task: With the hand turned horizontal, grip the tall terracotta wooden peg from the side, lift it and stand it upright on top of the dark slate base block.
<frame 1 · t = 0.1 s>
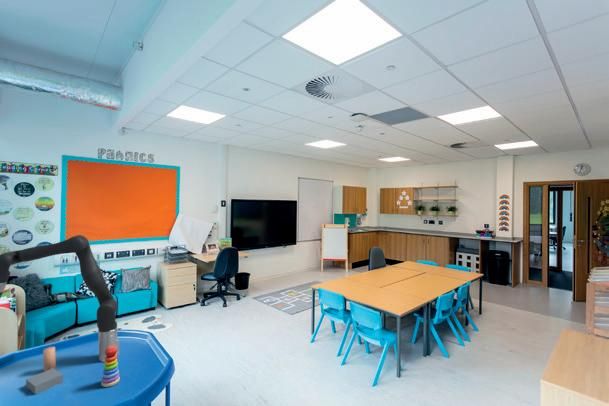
slate base block: (44, 384, 152), on the table
terracotta peg: (49, 370, 164), on the table
stacking toy: (110, 383, 153), on the table
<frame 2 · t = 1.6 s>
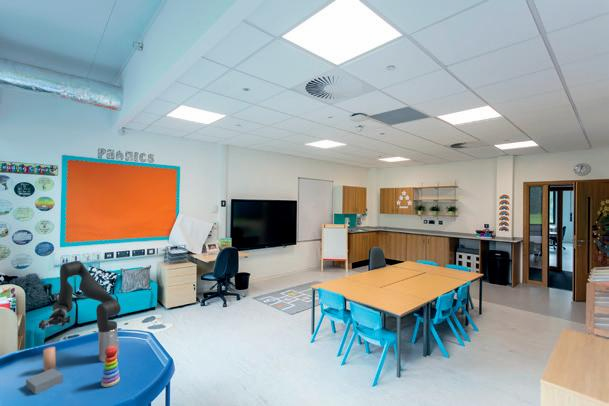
hand: (52, 326, 172), 20 cm above the table, tool horizontal, fingers open, 8 cm apart
nothing on the table moved.
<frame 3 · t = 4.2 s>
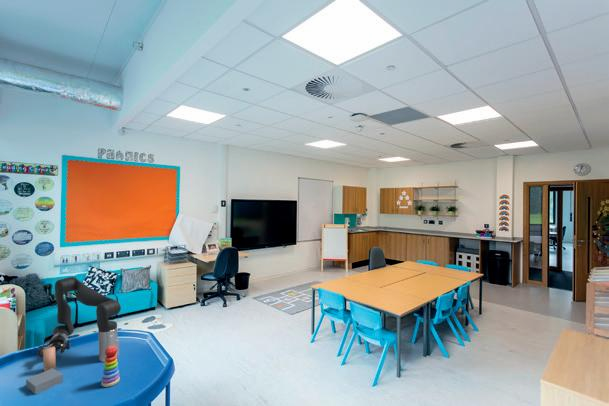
hand: (51, 353, 168), 7 cm above the table, tool horizontal, fingers open, 8 cm apart
nothing on the table moved.
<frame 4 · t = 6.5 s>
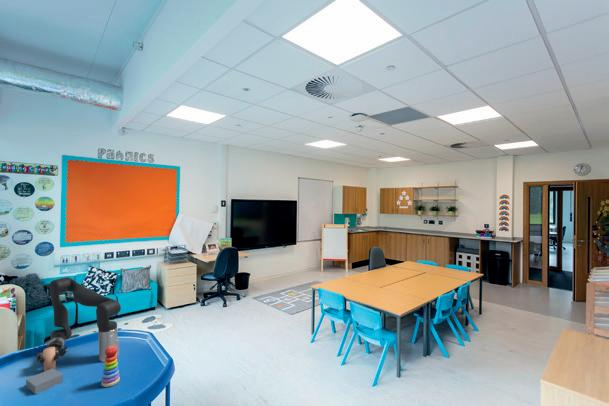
hand: (48, 360, 161), 7 cm above the table, tool horizontal, fingers closed on terracotta peg, 5 cm apart
terracotta peg: (49, 370, 164), on the table, touching gripper
everything else where it was.
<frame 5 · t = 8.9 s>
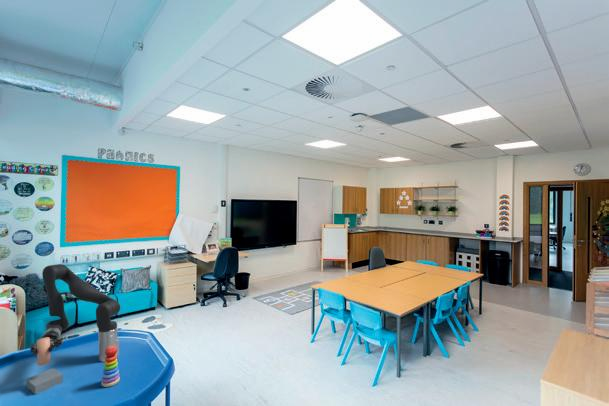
hand: (42, 351, 149), 18 cm above the table, tool horizontal, fingers closed on terracotta peg, 5 cm apart
terracotta peg: (44, 362, 152), point 11 cm above the table, touching gripper
everything else where it was.
when the fingers open (12 cm above the table, at t = 11.1 s): terracotta peg drops 1 cm, resting on slate base block.
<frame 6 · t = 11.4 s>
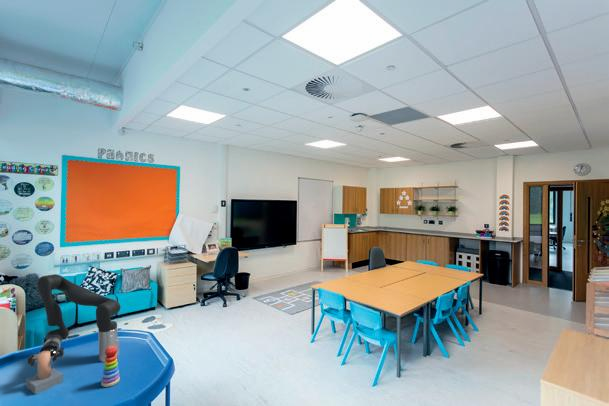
hand: (43, 362, 150), 13 cm above the table, tool horizontal, fingers open, 7 cm apart
terracotta peg: (44, 376, 152), point 4 cm above the table, touching slate base block
everything else where it was.
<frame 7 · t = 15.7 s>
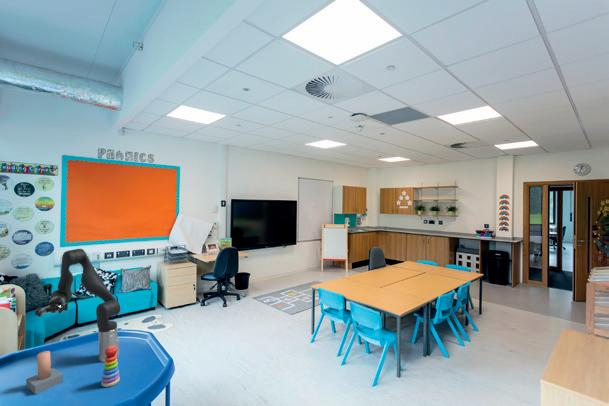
hand: (49, 313, 167), 30 cm above the table, tool horizontal, fingers open, 8 cm apart
nothing on the table moved.
at the end: terracotta peg 0.1 cm off-centre on the slate base block, point 4.0 cm above the slate base block's base; terracotta peg tilted 1°; the gripper is holding nothing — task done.
